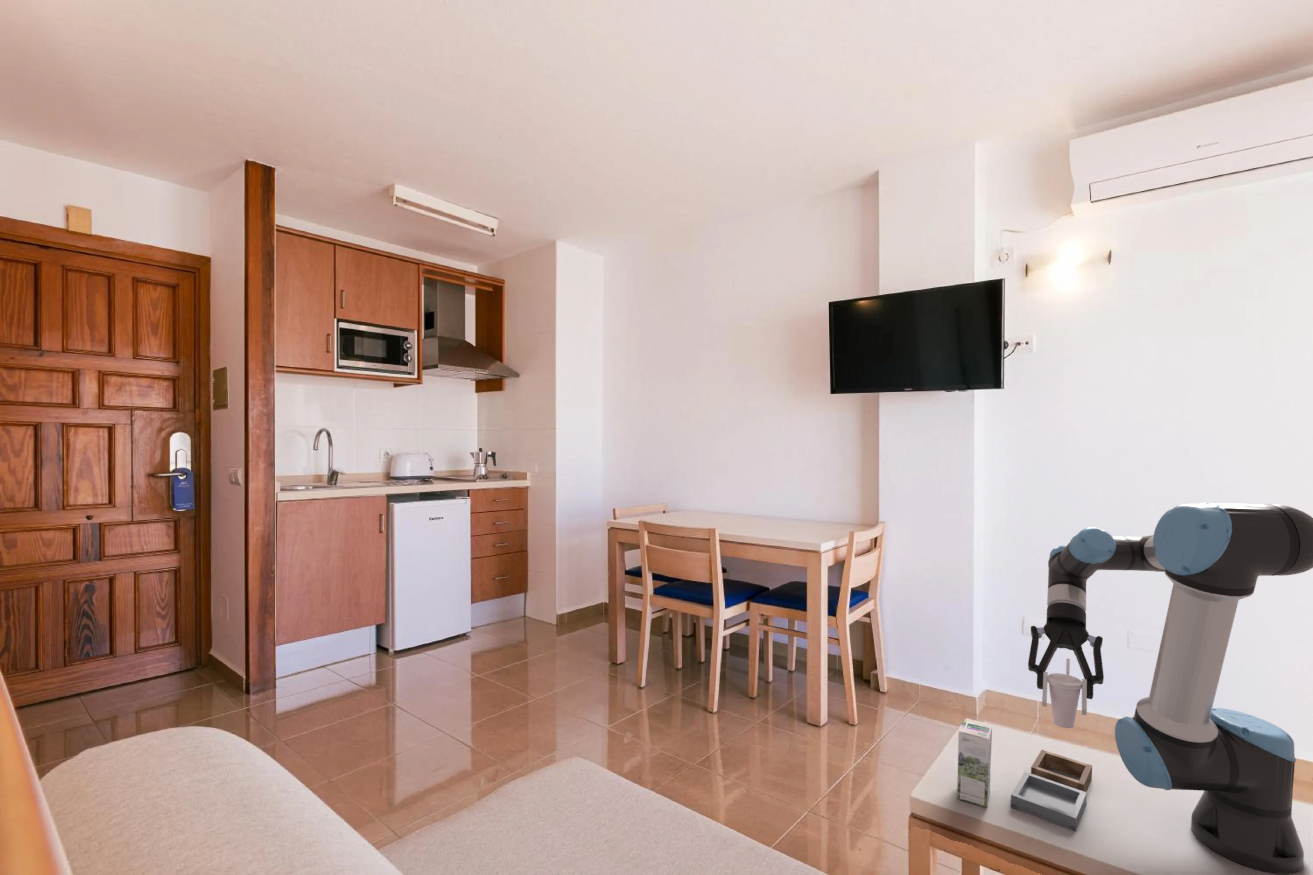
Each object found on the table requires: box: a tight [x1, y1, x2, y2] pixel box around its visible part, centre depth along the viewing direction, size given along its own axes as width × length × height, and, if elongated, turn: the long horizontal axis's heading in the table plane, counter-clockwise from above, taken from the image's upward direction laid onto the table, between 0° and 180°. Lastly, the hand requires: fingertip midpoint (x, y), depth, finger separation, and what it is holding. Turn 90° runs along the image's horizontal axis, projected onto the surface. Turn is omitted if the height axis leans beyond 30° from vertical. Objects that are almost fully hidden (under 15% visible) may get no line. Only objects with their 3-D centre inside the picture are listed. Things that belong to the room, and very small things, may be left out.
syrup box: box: [956, 719, 993, 808], centre depth 132 cm, size 6×6×14 cm
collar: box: [1030, 749, 1093, 792], centre depth 138 cm, size 10×10×3 cm
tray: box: [1010, 771, 1088, 832], centre depth 129 cm, size 11×11×2 cm
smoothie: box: [1047, 658, 1082, 729], centre depth 137 cm, size 6×6×14 cm
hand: (1064, 707), depth 134 cm, fingers closed on smoothie, 6 cm apart
